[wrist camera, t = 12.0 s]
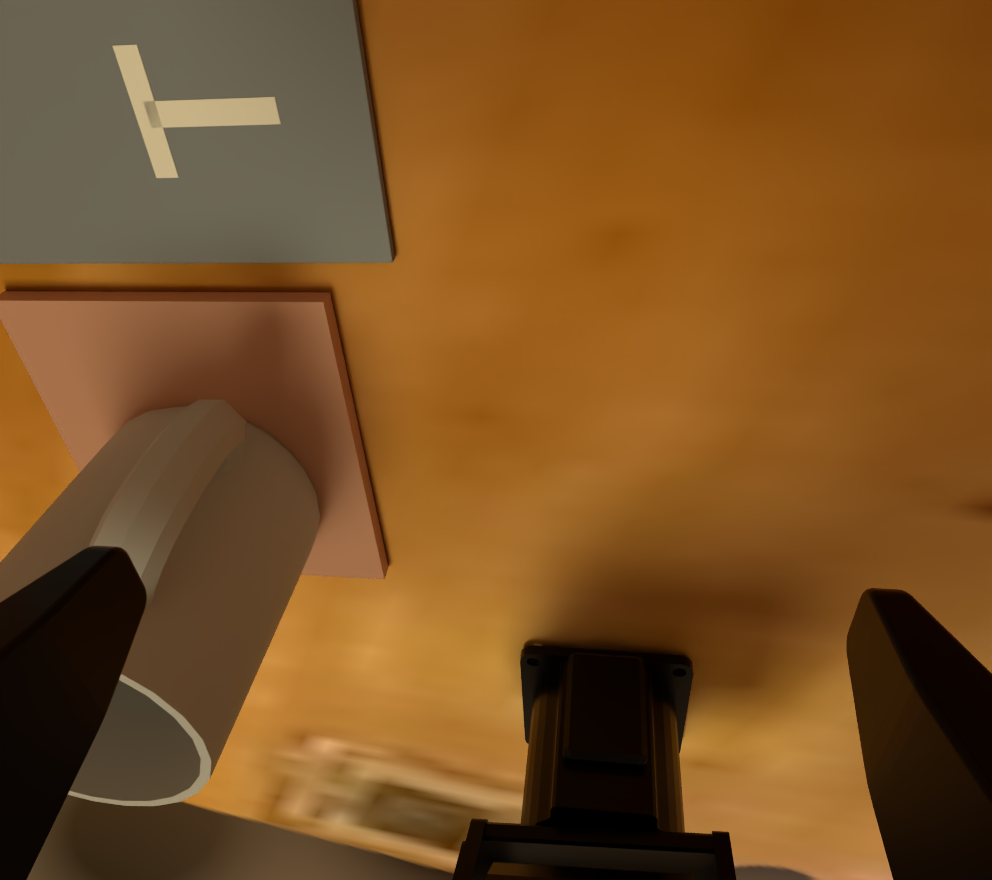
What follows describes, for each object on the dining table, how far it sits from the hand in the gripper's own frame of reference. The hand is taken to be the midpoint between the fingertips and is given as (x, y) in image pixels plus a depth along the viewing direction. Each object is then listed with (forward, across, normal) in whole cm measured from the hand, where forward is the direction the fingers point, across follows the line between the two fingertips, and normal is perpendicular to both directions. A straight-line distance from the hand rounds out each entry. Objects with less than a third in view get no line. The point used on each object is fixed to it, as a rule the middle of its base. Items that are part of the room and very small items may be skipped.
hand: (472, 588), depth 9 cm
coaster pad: (+12, +11, +8) cm, 18 cm away
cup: (+12, +10, +8) cm, 17 cm away
